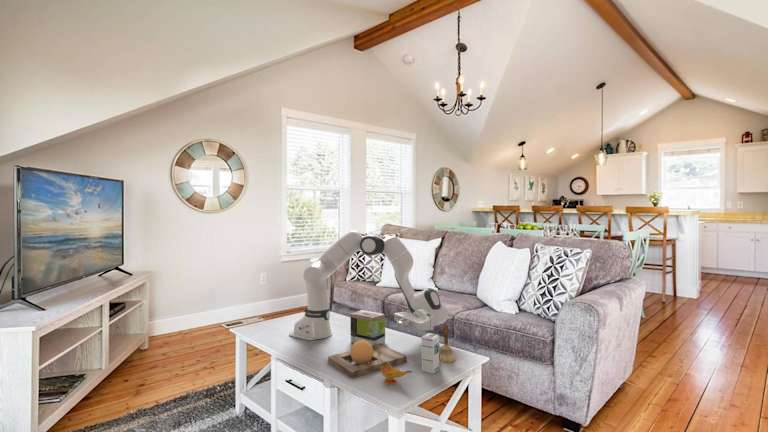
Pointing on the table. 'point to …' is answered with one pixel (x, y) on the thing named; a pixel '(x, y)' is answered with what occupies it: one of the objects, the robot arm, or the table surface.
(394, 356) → the wooden board with hole
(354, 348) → the ball
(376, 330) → the tea box
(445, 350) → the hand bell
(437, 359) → the syrup box
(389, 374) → the magic lamp
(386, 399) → the table surface
